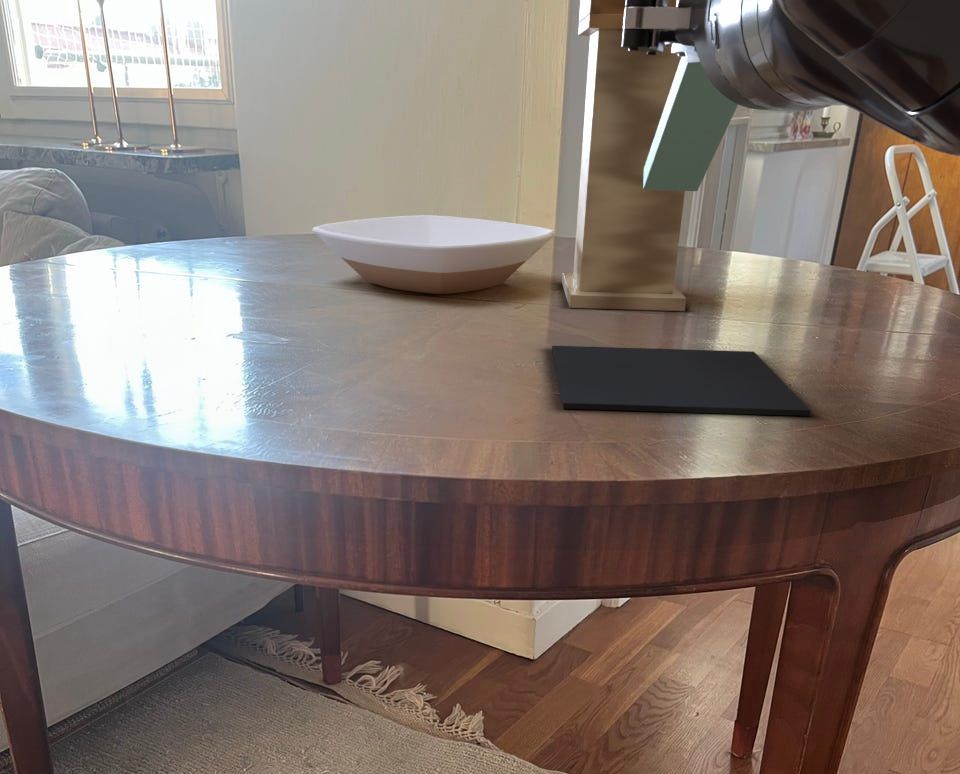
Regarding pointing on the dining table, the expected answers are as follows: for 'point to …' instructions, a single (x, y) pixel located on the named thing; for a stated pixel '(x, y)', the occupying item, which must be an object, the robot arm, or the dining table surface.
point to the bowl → (433, 251)
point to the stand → (623, 175)
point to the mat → (671, 381)
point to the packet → (687, 131)
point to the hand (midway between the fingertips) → (720, 33)
